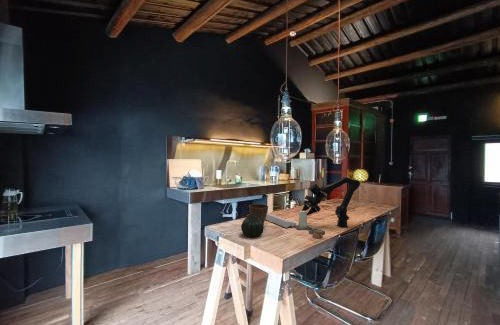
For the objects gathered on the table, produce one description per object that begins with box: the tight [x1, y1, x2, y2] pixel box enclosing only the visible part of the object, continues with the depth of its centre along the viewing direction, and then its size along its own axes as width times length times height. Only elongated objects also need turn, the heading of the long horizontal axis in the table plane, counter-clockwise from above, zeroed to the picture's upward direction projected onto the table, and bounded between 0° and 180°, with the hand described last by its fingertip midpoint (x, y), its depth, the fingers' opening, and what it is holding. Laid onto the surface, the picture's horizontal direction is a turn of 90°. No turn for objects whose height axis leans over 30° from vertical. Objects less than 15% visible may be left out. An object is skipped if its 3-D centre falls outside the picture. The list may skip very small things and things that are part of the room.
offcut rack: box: [308, 228, 326, 236], centre depth 177 cm, size 9×8×2 cm
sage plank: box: [298, 210, 308, 228], centre depth 190 cm, size 5×4×12 cm
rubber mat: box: [293, 224, 313, 231], centre depth 190 cm, size 11×10×1 cm
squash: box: [240, 213, 264, 238], centre depth 169 cm, size 14×15×15 cm
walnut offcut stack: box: [311, 229, 324, 240], centre depth 168 cm, size 5×5×4 cm
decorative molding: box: [265, 213, 297, 229], centre depth 204 cm, size 34×5×10 cm
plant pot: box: [248, 203, 269, 225], centre depth 190 cm, size 15×15×16 cm
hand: (304, 213), depth 190 cm, fingers open, 9 cm apart
